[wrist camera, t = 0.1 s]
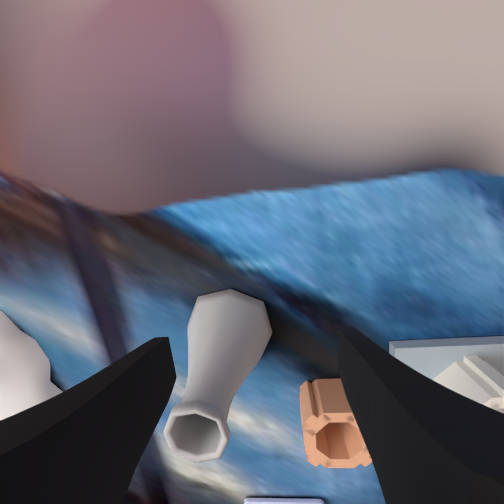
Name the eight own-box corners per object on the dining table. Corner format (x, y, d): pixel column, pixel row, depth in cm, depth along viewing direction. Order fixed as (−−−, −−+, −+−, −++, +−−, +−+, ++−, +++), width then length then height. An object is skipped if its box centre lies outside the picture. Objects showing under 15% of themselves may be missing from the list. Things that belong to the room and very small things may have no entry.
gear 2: (517, 388, 20) (568, 429, 16) (463, 427, 21) (499, 473, 18) (471, 349, 19) (513, 382, 16) (417, 391, 21) (446, 430, 17)
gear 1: (360, 427, 23) (375, 467, 20) (301, 427, 24) (306, 467, 20) (359, 377, 22) (375, 412, 18) (298, 379, 22) (302, 413, 19)
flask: (275, 290, 21) (277, 379, 11) (269, 367, 22) (267, 502, 13) (188, 284, 21) (115, 364, 12) (189, 360, 23) (127, 484, 13)
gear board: (524, 490, 23) (590, 570, 18) (386, 489, 24) (414, 563, 20) (552, 333, 20) (644, 380, 15) (389, 341, 21) (424, 387, 16)
